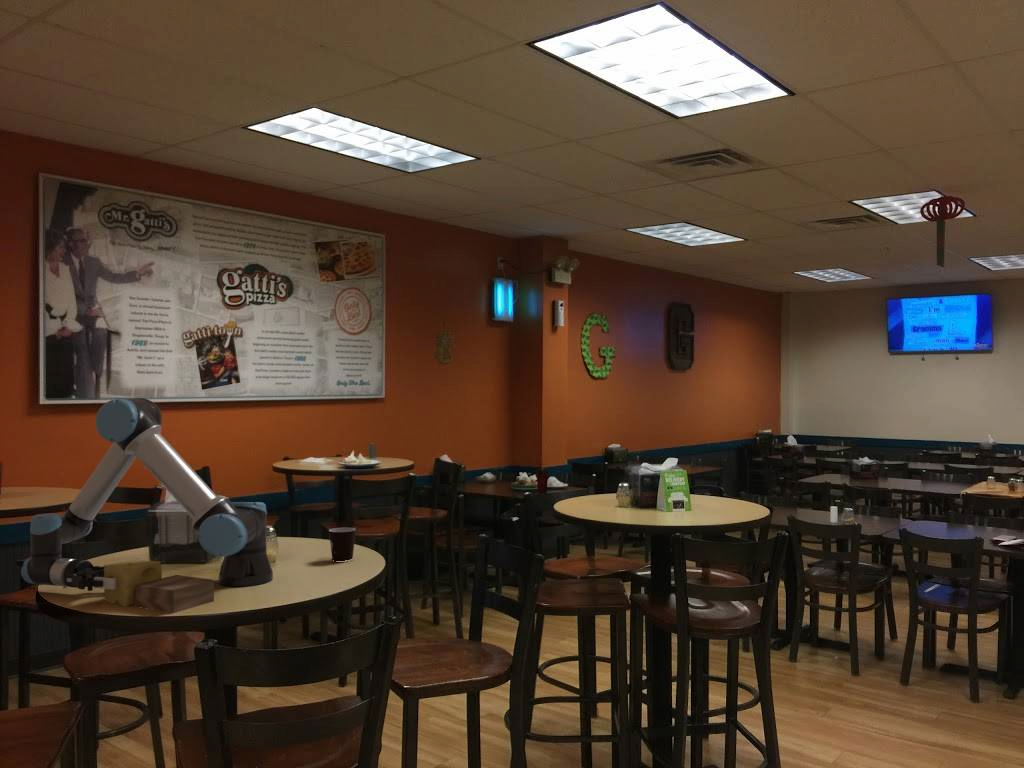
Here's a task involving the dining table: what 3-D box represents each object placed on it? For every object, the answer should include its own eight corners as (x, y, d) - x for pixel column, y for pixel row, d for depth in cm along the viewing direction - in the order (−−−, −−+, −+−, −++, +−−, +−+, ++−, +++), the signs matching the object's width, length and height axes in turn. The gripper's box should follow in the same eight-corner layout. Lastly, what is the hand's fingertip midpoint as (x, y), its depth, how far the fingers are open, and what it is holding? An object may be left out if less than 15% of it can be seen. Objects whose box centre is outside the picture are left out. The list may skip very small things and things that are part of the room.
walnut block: (213, 602, 221) (213, 579, 221) (173, 614, 209) (173, 590, 209) (176, 596, 227) (176, 574, 227) (135, 608, 215) (135, 584, 215)
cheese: (126, 607, 215) (126, 568, 215) (102, 602, 221) (101, 564, 221) (162, 598, 224) (162, 561, 224) (137, 593, 230) (137, 557, 230)
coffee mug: (353, 563, 268) (352, 532, 268) (326, 563, 268) (326, 532, 268) (360, 556, 280) (359, 526, 280) (334, 556, 280) (334, 526, 280)
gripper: (108, 577, 241) (168, 582, 234) (33, 597, 217) (97, 603, 210) (108, 551, 241) (168, 555, 234) (33, 568, 218) (96, 574, 210)
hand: (134, 578), depth 222 cm, fingers open, 13 cm apart
